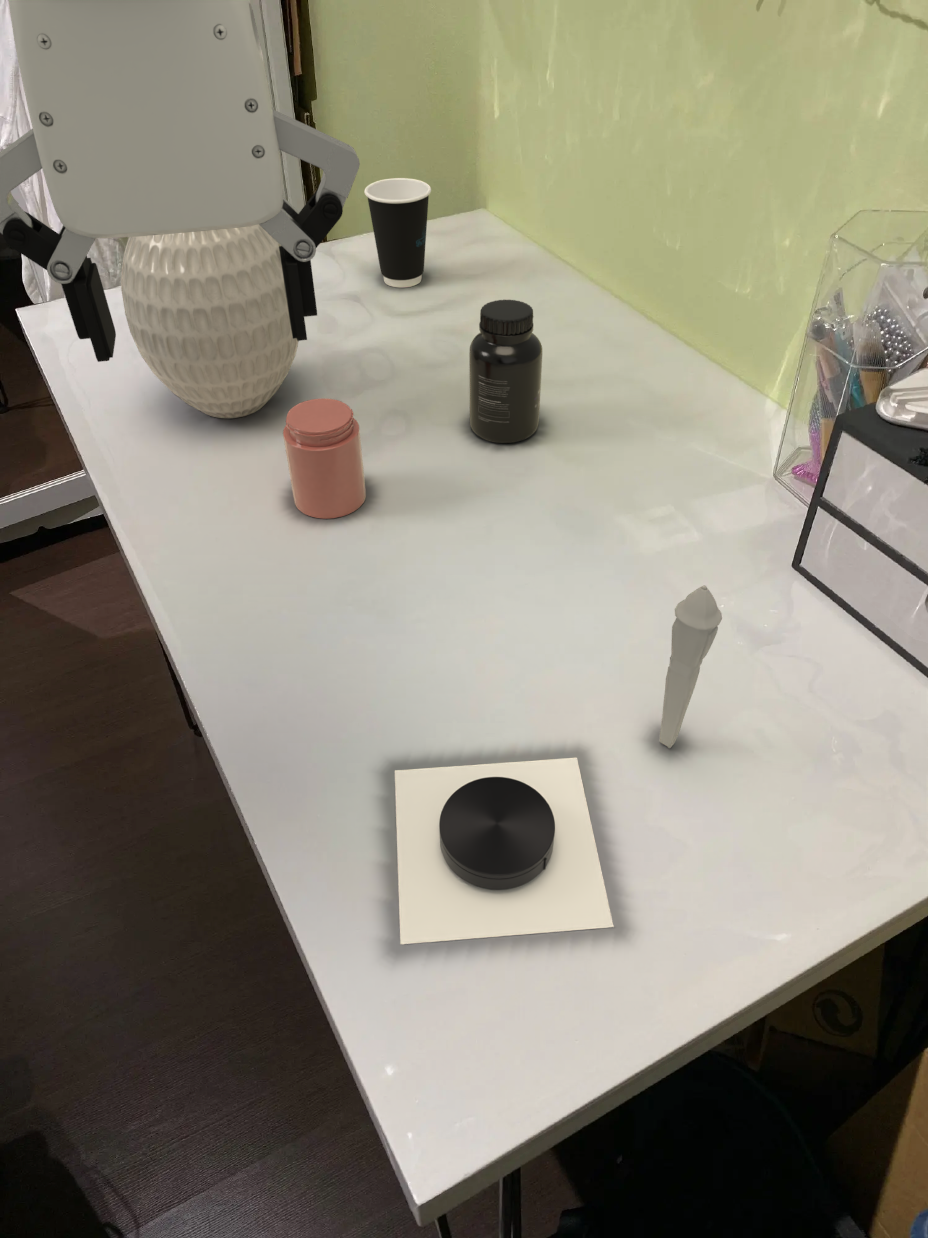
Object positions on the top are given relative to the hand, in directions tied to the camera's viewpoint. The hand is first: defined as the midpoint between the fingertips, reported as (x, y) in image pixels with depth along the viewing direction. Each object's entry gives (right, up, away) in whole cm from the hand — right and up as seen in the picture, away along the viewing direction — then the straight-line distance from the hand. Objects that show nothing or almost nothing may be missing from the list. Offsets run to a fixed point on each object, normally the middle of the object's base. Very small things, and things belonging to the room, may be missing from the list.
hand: (204, 338), depth 47 cm
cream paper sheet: (+15, -28, +9) cm, 33 cm away
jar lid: (+15, -27, +7) cm, 32 cm away
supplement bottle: (+17, +4, +43) cm, 47 cm away
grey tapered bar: (+27, -23, +14) cm, 38 cm away
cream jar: (+1, -3, +35) cm, 35 cm away
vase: (-10, +8, +47) cm, 49 cm away
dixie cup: (+6, +29, +69) cm, 75 cm away
